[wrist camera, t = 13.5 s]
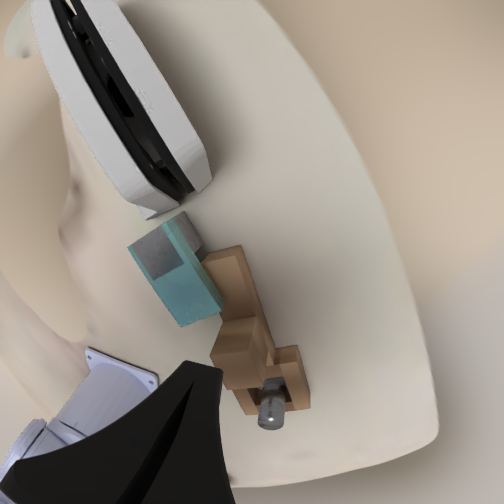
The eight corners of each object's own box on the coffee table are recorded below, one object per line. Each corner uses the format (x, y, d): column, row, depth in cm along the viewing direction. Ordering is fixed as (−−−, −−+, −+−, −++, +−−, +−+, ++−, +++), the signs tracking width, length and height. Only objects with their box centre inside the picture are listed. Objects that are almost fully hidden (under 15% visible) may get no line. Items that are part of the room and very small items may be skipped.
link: (310, 392, 22) (310, 442, 17) (248, 400, 23) (238, 447, 18) (265, 238, 18) (254, 274, 13) (186, 258, 19) (153, 296, 14)
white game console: (61, 54, 14) (2, -7, 5) (111, 20, 15) (74, -57, 5) (154, 224, 18) (102, 248, 9) (214, 185, 18) (223, 166, 9)
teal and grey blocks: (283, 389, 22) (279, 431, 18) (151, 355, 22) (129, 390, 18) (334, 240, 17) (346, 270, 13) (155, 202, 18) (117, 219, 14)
